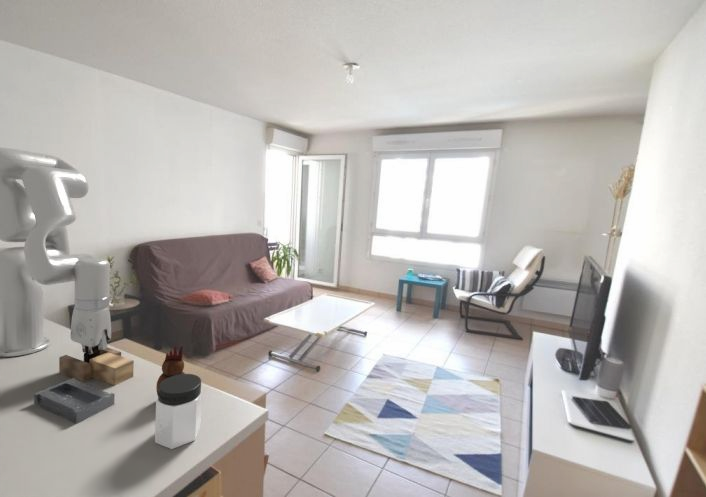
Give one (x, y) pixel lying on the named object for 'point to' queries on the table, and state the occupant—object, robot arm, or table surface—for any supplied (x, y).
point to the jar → (178, 410)
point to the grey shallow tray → (73, 400)
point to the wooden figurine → (171, 366)
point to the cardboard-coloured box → (111, 368)
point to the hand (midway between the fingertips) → (91, 365)
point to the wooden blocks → (79, 365)
